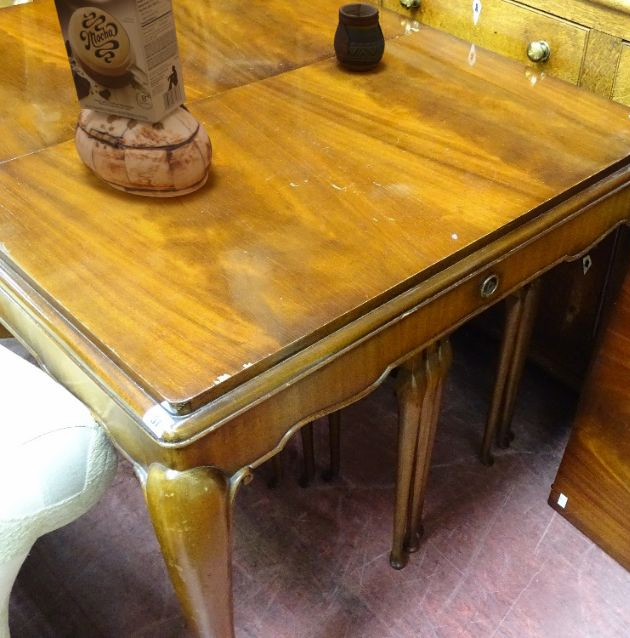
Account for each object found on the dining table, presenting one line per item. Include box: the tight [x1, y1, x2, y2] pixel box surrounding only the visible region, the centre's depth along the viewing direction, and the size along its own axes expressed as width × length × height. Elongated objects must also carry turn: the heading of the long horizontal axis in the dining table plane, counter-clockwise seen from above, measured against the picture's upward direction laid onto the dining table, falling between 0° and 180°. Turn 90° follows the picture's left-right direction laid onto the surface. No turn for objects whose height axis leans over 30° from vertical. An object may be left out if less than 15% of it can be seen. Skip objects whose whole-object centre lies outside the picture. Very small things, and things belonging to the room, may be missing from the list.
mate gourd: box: [333, 2, 386, 72], centre depth 108 cm, size 7×8×10 cm
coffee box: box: [53, 0, 187, 123], centre depth 75 cm, size 9×6×16 cm
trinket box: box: [74, 103, 213, 198], centre depth 83 cm, size 13×15×8 cm
